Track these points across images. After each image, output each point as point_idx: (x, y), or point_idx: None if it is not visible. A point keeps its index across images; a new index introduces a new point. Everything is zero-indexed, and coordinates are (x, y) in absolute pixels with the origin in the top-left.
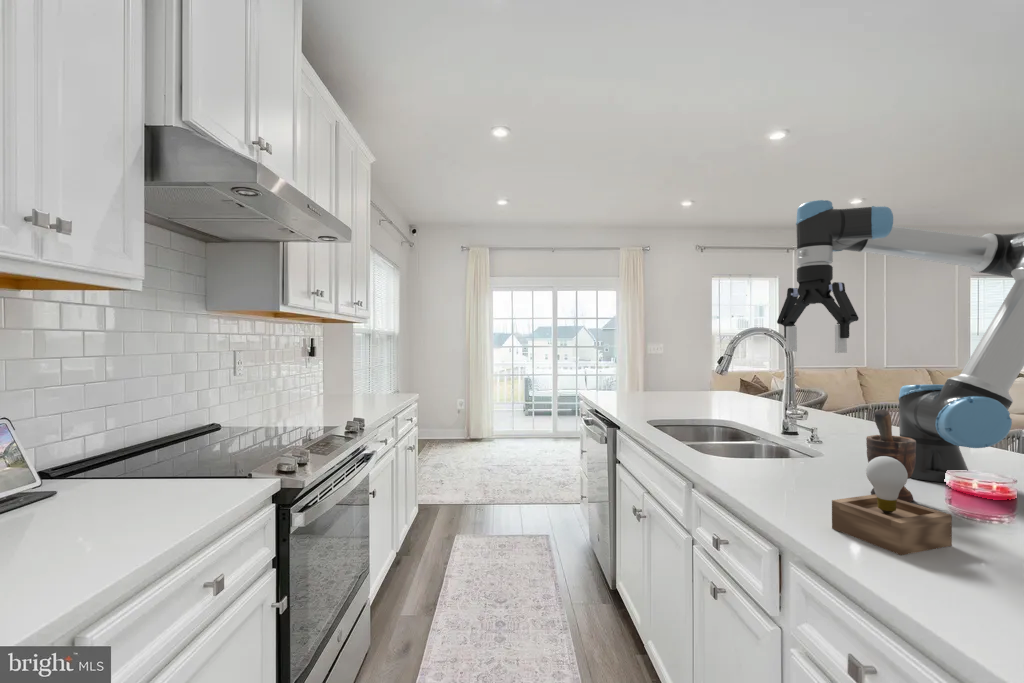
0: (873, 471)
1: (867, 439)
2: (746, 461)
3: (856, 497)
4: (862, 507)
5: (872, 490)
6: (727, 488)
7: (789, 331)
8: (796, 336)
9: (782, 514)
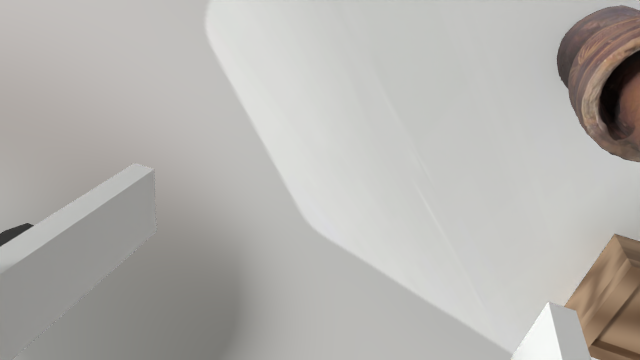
0: None
1: (588, 134)
2: (222, 20)
3: (599, 313)
4: (622, 356)
5: (565, 77)
6: (346, 244)
7: (30, 331)
8: (58, 234)
9: (477, 302)
